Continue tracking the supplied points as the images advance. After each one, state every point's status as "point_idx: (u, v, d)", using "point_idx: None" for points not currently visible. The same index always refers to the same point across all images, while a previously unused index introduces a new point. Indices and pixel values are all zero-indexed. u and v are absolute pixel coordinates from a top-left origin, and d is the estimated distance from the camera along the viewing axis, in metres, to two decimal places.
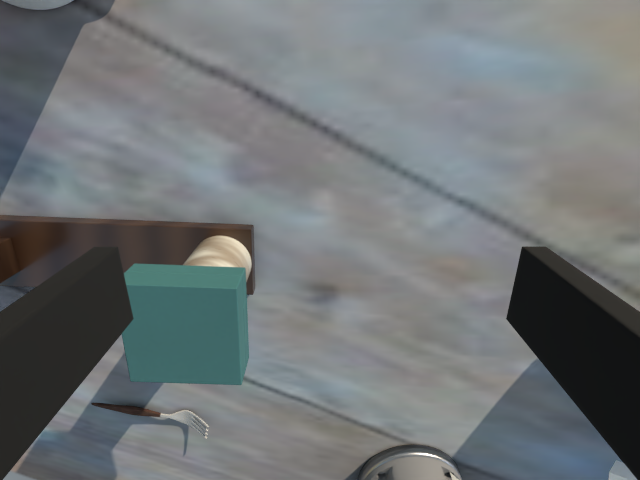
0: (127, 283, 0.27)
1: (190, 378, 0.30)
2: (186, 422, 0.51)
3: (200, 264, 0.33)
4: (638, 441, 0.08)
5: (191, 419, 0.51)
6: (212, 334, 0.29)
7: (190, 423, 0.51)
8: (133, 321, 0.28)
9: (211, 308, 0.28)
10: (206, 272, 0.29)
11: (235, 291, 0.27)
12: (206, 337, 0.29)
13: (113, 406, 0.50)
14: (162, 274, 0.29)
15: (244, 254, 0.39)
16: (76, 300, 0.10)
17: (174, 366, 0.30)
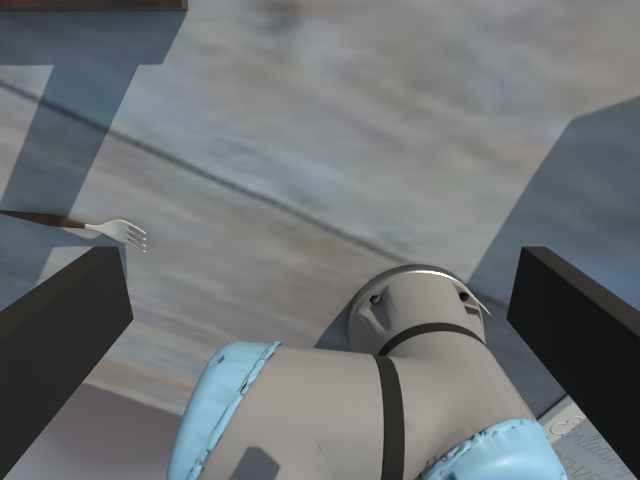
0: None
1: None
2: (120, 238, 0.40)
3: None
4: (638, 441, 0.08)
5: (126, 231, 0.40)
6: None
7: (125, 238, 0.40)
8: None
9: None
10: None
11: None
12: None
13: (23, 213, 0.39)
14: None
15: None
16: (76, 300, 0.10)
17: None
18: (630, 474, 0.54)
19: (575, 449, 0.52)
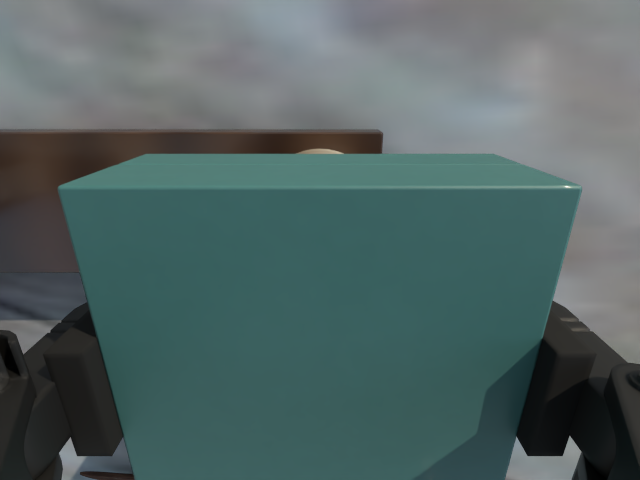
0: (120, 183, 0.06)
1: None
2: None
3: None
4: None
5: None
6: (435, 375, 0.08)
7: None
8: (150, 340, 0.07)
9: (457, 278, 0.07)
10: (392, 161, 0.09)
11: (574, 202, 0.06)
12: (412, 387, 0.08)
13: (117, 476, 0.29)
14: (248, 167, 0.08)
15: None
16: None
17: None
18: None
19: None
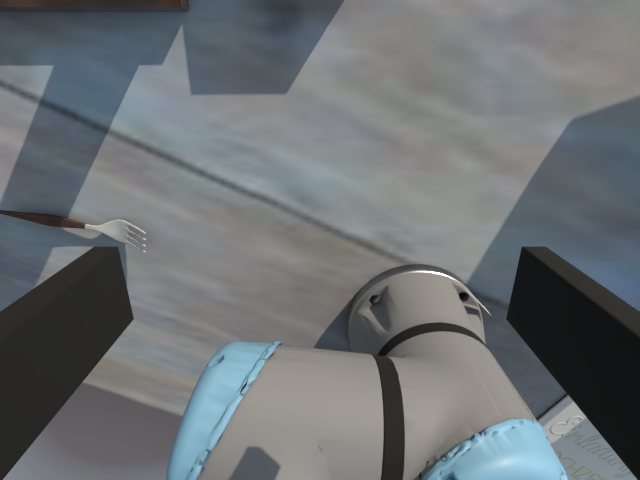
0: None
1: None
2: (120, 238, 0.40)
3: None
4: (638, 441, 0.08)
5: (126, 231, 0.40)
6: None
7: (125, 238, 0.40)
8: None
9: None
10: None
11: None
12: None
13: (23, 213, 0.39)
14: None
15: None
16: (76, 300, 0.10)
17: None
18: (630, 474, 0.54)
19: (575, 449, 0.52)
